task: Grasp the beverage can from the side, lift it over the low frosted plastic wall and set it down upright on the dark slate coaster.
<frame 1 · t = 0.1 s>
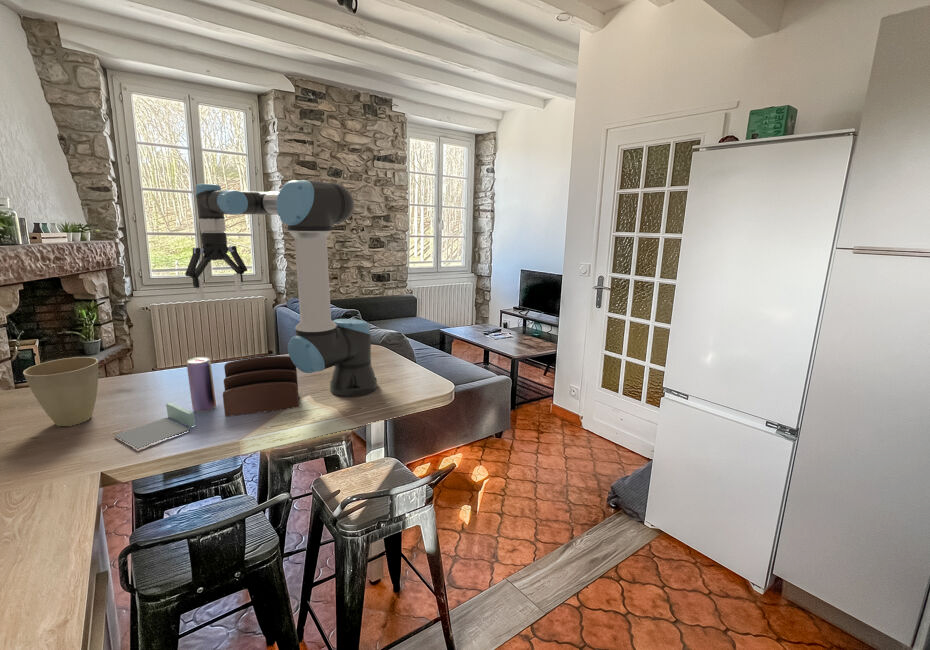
hand: (220, 294, 156), 28 cm above the breakfast bar, tool pointing down, fingers open, 13 cm apart
letter holder: (264, 406, 135), on the breakfast bar
beverage can: (204, 409, 132), on the breakfast bar
plant pot: (73, 421, 123), on the breakfast bar
frosted wall: (181, 421, 124), on the breakfast bar
slate coaster: (153, 434, 116), on the breakfast bar
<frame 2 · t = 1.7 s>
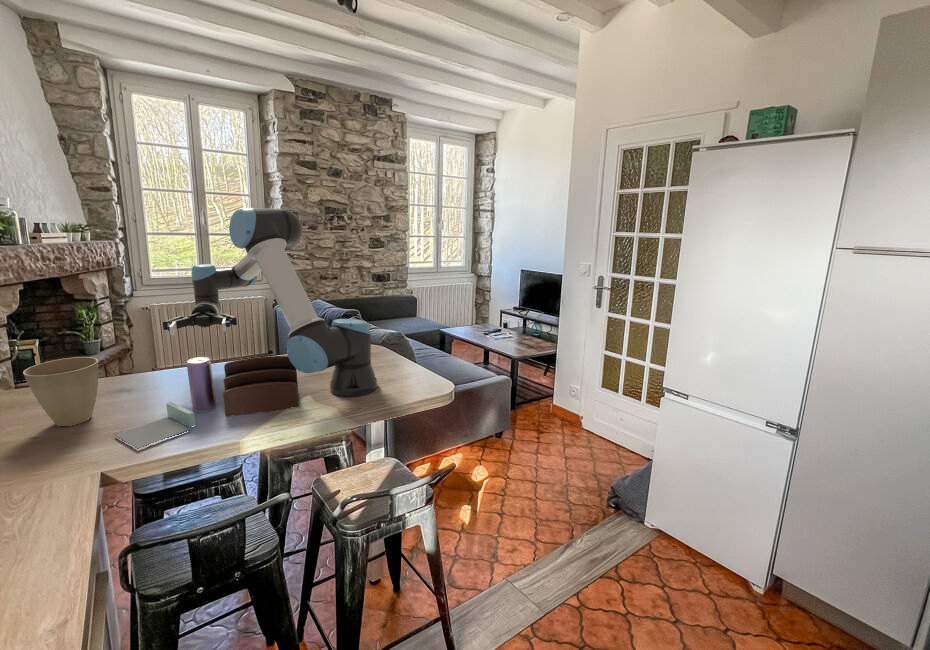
hand: (198, 329, 135), 22 cm above the breakfast bar, tool horizontal, fingers open, 13 cm apart
nothing on the breakfast bar moved.
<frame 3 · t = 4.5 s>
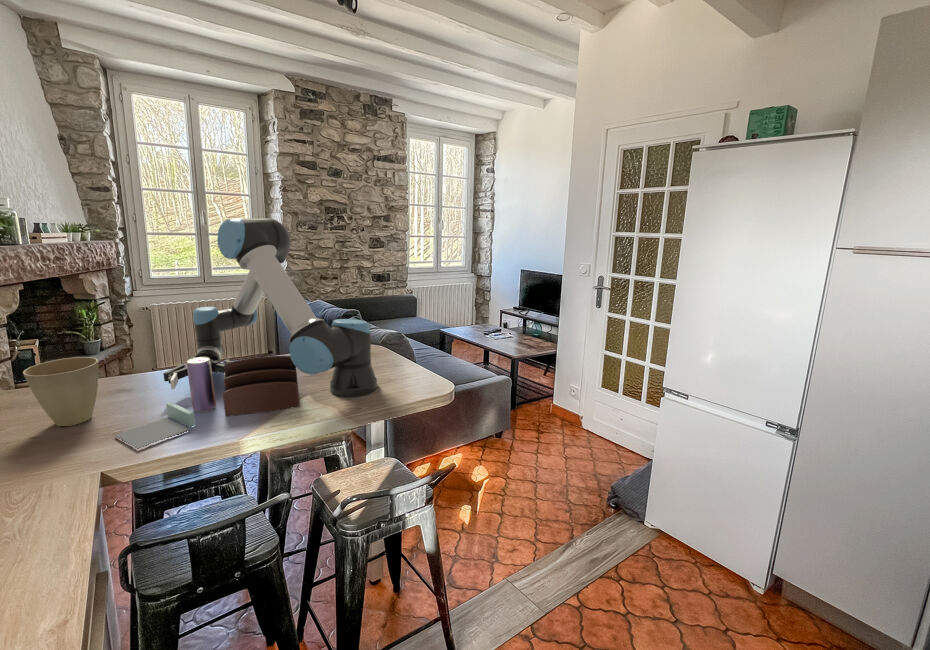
hand: (199, 381, 131), 8 cm above the breakfast bar, tool horizontal, fingers open, 13 cm apart
letter holder: (264, 406, 135), on the breakfast bar, touching gripper
everything else where it was.
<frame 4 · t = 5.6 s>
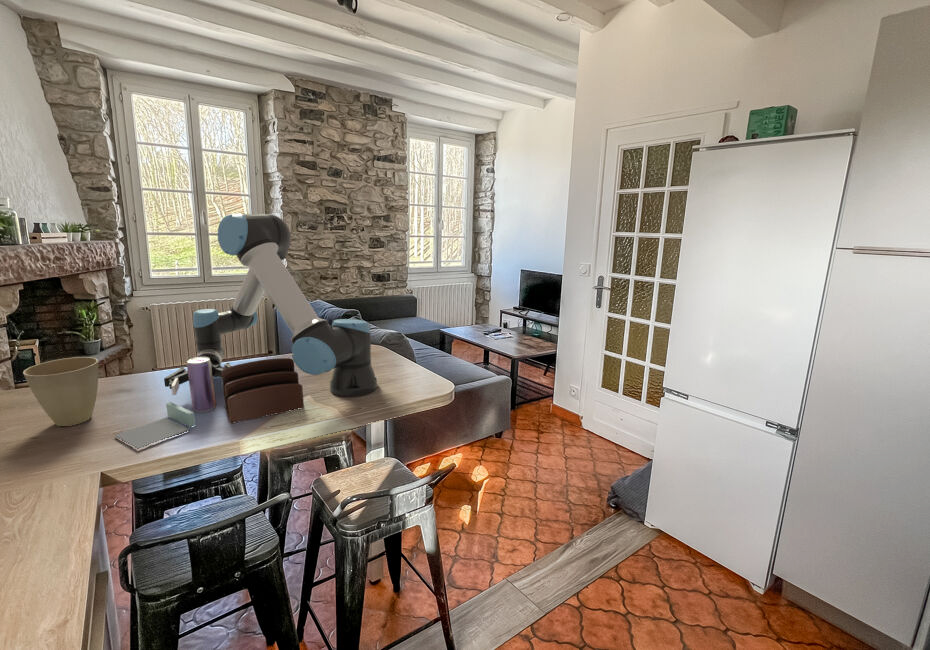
hand: (200, 387, 127), 8 cm above the breakfast bar, tool horizontal, fingers open, 12 cm apart
letter holder: (265, 410, 132), on the breakfast bar, touching gripper
everything else where it was.
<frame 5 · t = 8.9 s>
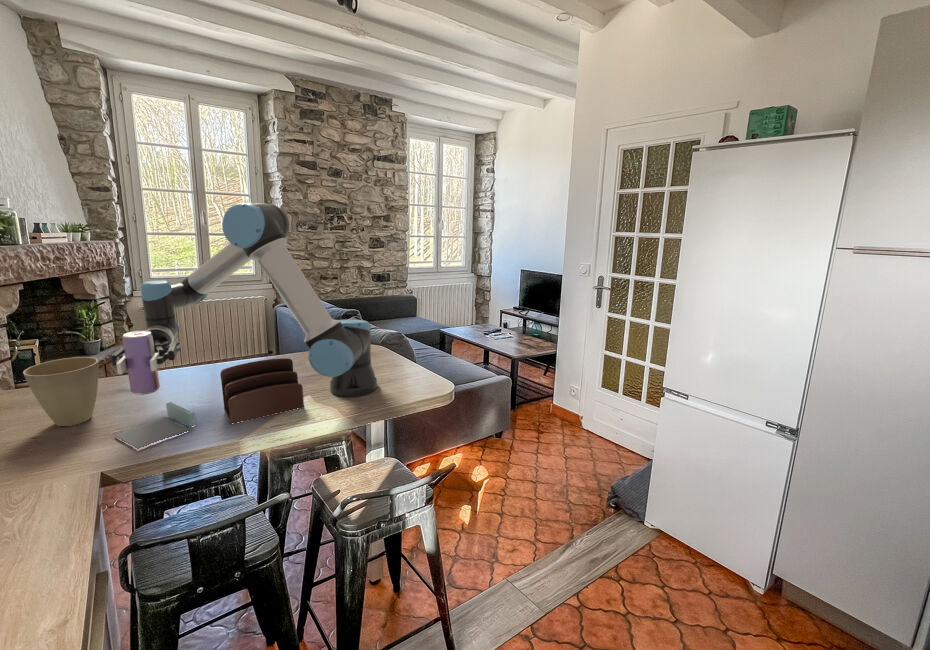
hand: (136, 367, 107), 20 cm above the breakfast bar, tool horizontal, fingers closed on beverage can, 6 cm apart
letter holder: (265, 411, 132), on the breakfast bar
beverage can: (146, 391, 113), point 12 cm above the breakfast bar, touching gripper
everything else where it was.
when the fingers open (10 cm above the breakfast bar, at t = 11.6 s): beverage can drops 1 cm, resting on slate coaster.
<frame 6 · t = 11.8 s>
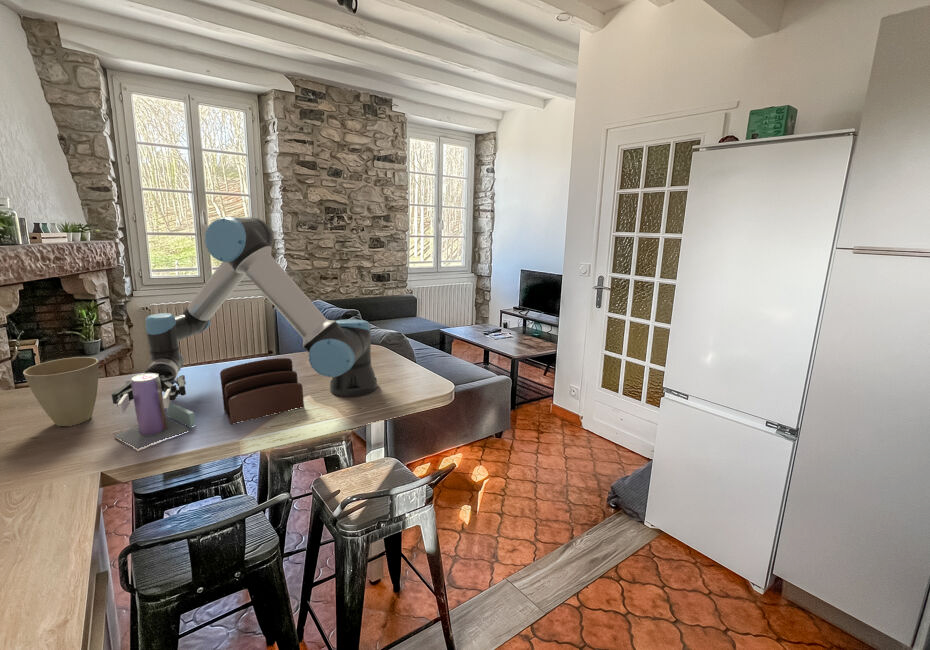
hand: (143, 406, 109), 10 cm above the breakfast bar, tool horizontal, fingers open, 8 cm apart
beverage can: (153, 432, 116), point 1 cm above the breakfast bar, touching slate coaster
everything else where it was.
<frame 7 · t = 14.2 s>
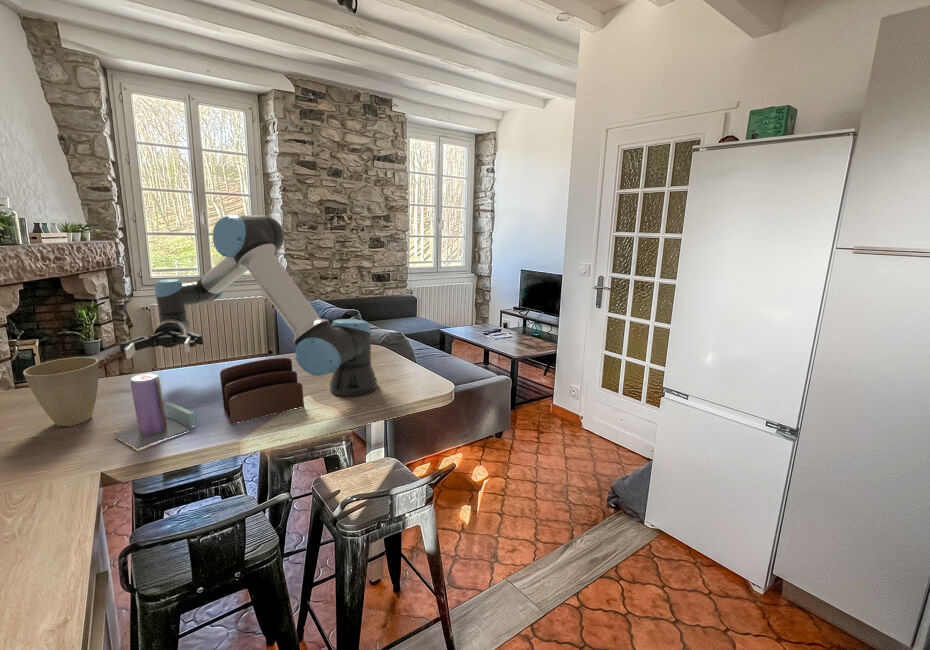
hand: (157, 351, 123), 19 cm above the breakfast bar, tool horizontal, fingers open, 13 cm apart
nothing on the breakfast bar moved.
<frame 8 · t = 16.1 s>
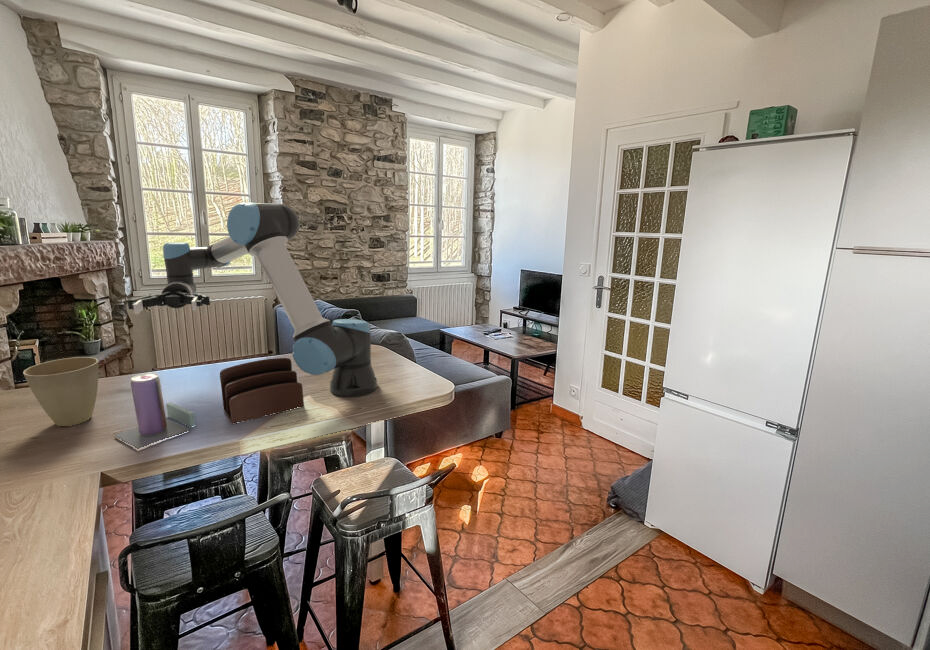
hand: (165, 307, 125), 30 cm above the breakfast bar, tool horizontal, fingers open, 13 cm apart
nothing on the breakfast bar moved.
at the end: beverage can inside the target area on the slate coaster (0.2 cm from its centre), point 0.6 cm above the slate coaster's base; beverage can tilted 0°; the gripper is holding nothing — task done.
